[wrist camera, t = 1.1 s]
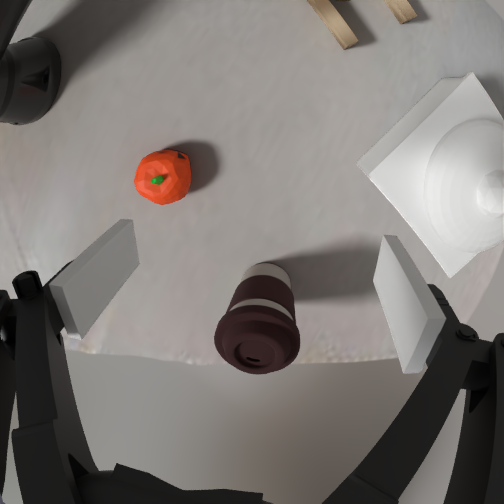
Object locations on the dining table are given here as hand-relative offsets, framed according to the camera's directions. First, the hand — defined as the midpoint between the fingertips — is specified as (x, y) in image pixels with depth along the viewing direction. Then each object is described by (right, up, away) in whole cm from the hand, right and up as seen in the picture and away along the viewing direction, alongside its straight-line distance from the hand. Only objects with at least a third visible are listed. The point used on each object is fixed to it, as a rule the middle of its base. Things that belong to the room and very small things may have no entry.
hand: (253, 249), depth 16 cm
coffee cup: (+2, -5, +31) cm, 31 cm away
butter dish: (+25, +12, +20) cm, 34 cm away
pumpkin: (-11, +11, +25) cm, 29 cm away
